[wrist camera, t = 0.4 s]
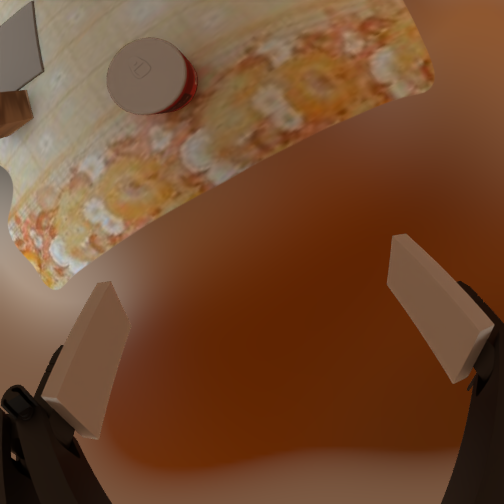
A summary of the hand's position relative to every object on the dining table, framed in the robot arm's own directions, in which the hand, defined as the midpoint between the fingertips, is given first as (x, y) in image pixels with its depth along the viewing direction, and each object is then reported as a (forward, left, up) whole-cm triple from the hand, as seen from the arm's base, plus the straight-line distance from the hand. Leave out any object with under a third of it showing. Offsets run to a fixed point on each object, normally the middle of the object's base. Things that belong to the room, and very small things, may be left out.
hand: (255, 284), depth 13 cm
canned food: (-13, -6, -28) cm, 31 cm away
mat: (-31, -30, -27) cm, 51 cm away
